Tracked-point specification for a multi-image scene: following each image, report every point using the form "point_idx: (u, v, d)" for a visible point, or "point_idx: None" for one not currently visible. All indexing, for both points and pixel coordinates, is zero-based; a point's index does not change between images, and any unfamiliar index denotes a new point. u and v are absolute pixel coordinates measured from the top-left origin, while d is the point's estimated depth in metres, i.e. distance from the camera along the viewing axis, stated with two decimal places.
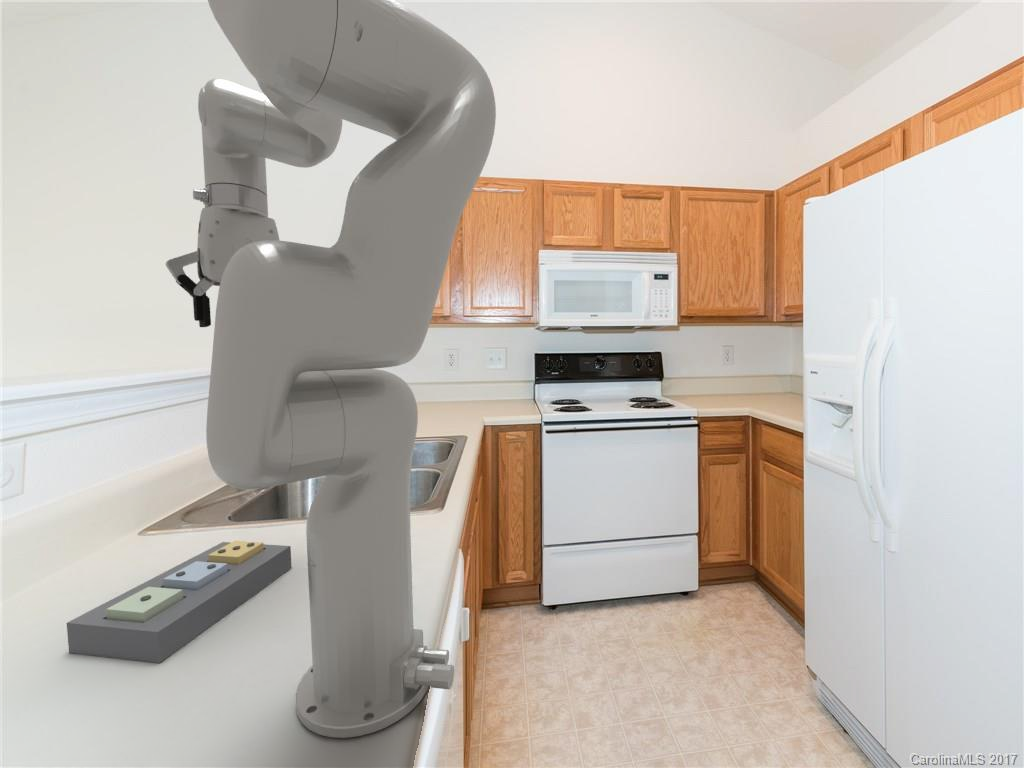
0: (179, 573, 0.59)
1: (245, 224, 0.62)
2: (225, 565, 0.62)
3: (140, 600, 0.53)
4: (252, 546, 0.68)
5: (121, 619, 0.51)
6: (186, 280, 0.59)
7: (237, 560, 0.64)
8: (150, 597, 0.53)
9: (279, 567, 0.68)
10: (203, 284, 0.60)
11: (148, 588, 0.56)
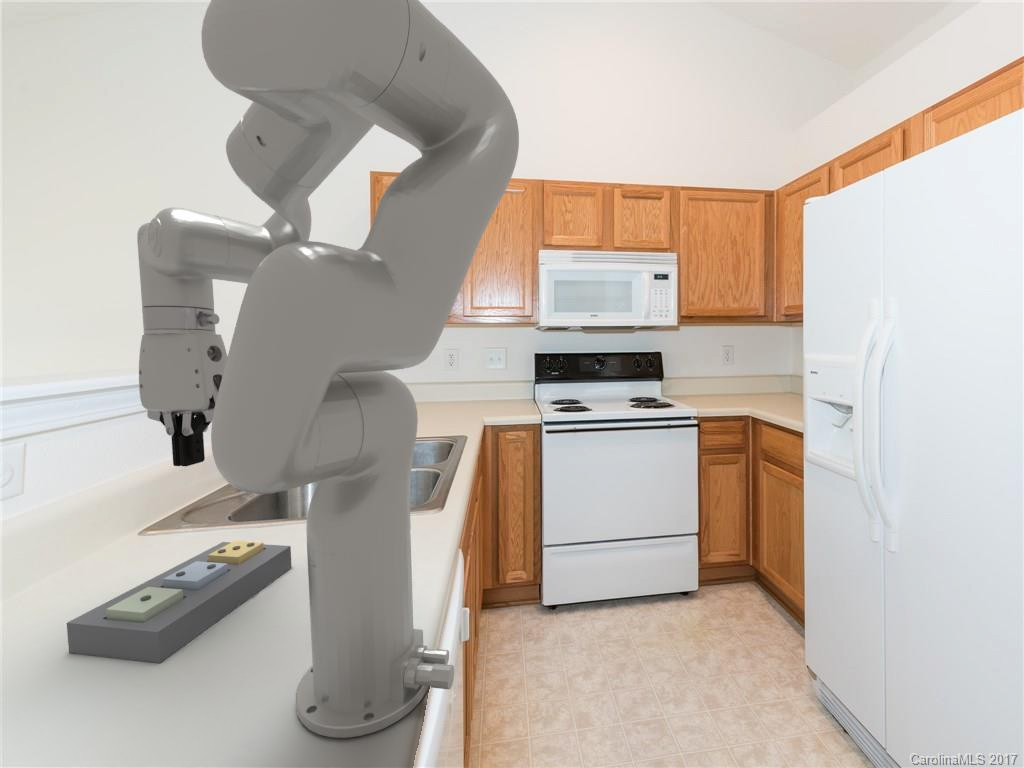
0: (179, 573, 0.59)
1: None
2: (225, 565, 0.62)
3: (140, 600, 0.53)
4: (252, 546, 0.68)
5: (121, 619, 0.51)
6: None
7: (237, 560, 0.64)
8: (150, 597, 0.53)
9: (279, 567, 0.68)
10: None
11: (148, 588, 0.56)
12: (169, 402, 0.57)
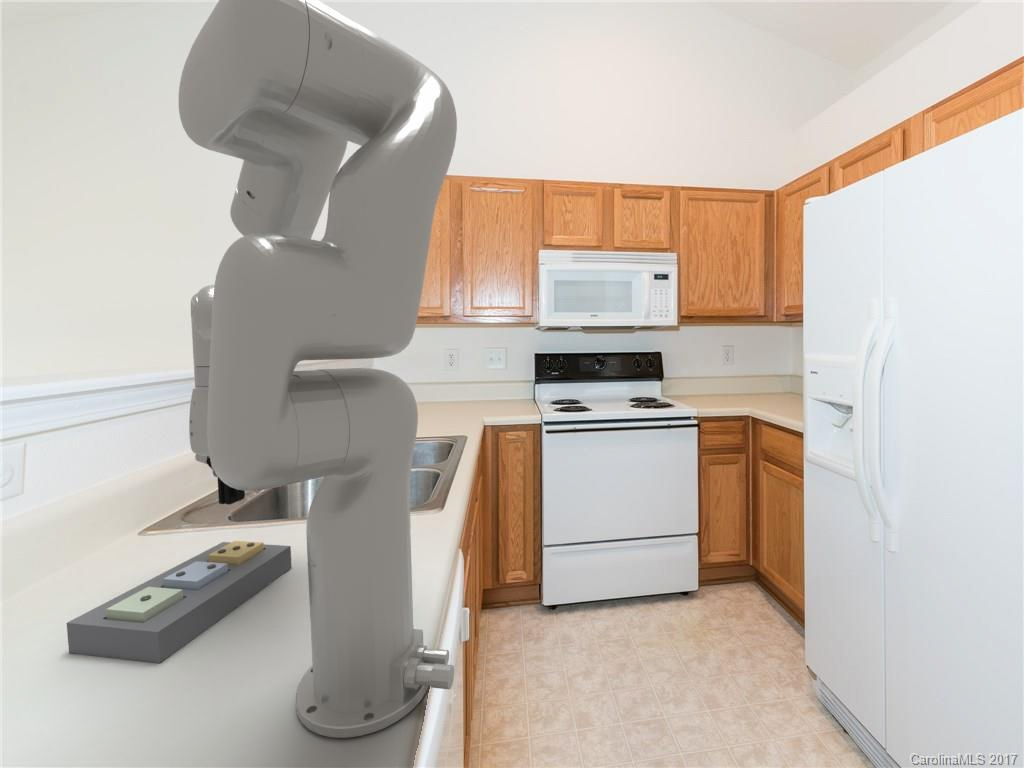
0: (179, 573, 0.59)
1: None
2: (225, 565, 0.62)
3: (140, 600, 0.53)
4: (252, 546, 0.68)
5: (121, 619, 0.51)
6: None
7: (237, 560, 0.64)
8: (150, 597, 0.53)
9: (279, 567, 0.68)
10: None
11: (148, 588, 0.56)
12: None
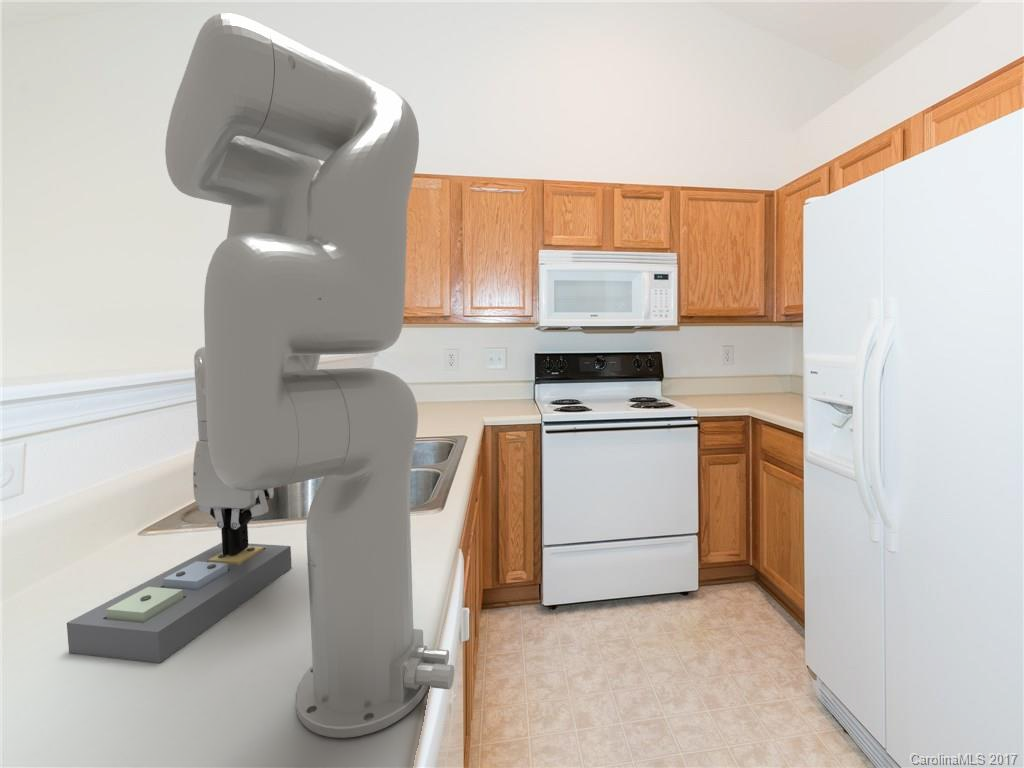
0: (179, 573, 0.59)
1: None
2: (225, 565, 0.62)
3: (140, 600, 0.53)
4: (252, 550, 0.68)
5: (121, 619, 0.51)
6: None
7: None
8: (150, 597, 0.53)
9: (279, 567, 0.68)
10: None
11: (148, 588, 0.56)
12: (220, 501, 0.65)
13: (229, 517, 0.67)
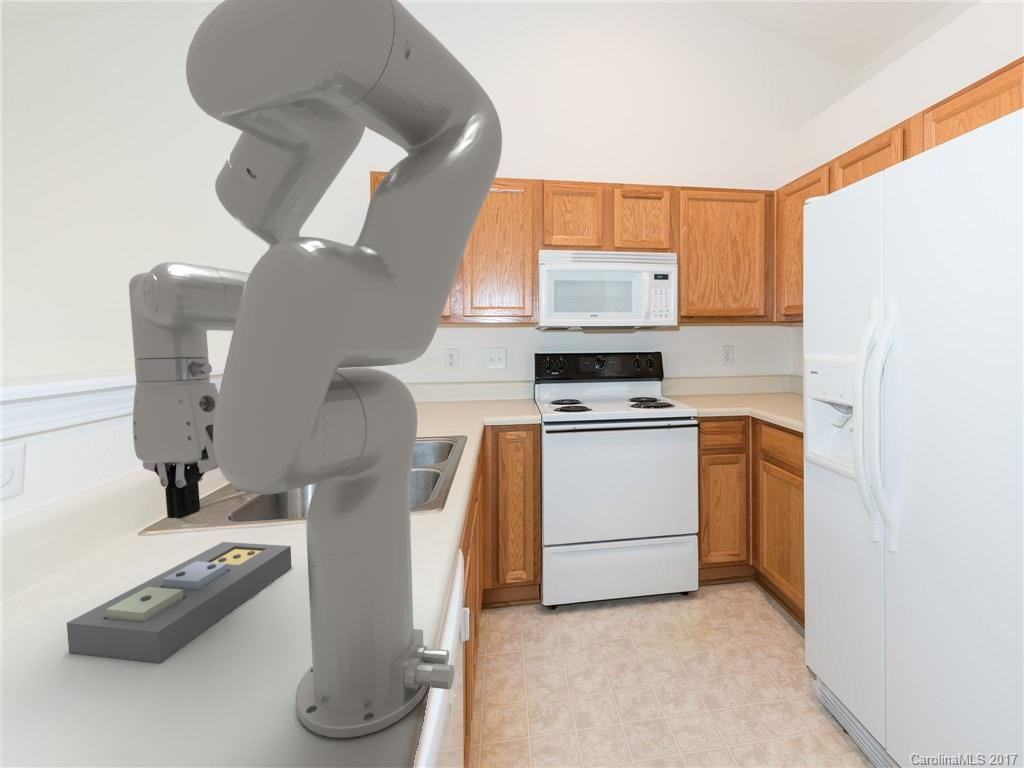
0: (179, 573, 0.59)
1: None
2: (225, 565, 0.62)
3: (140, 600, 0.53)
4: (252, 554, 0.68)
5: (121, 619, 0.51)
6: None
7: None
8: (150, 597, 0.53)
9: (279, 567, 0.68)
10: None
11: (148, 588, 0.56)
12: (162, 454, 0.56)
13: None
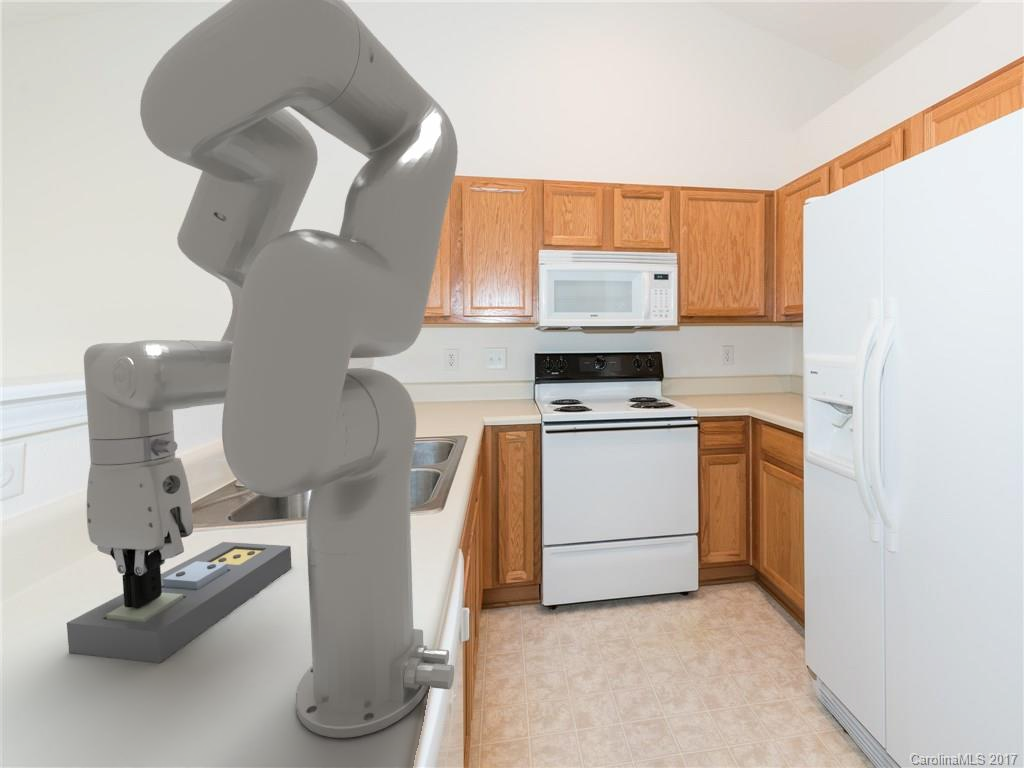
0: (179, 573, 0.59)
1: None
2: (225, 565, 0.62)
3: None
4: (252, 554, 0.68)
5: None
6: None
7: None
8: (150, 602, 0.53)
9: (279, 567, 0.68)
10: None
11: None
12: (119, 540, 0.51)
13: None
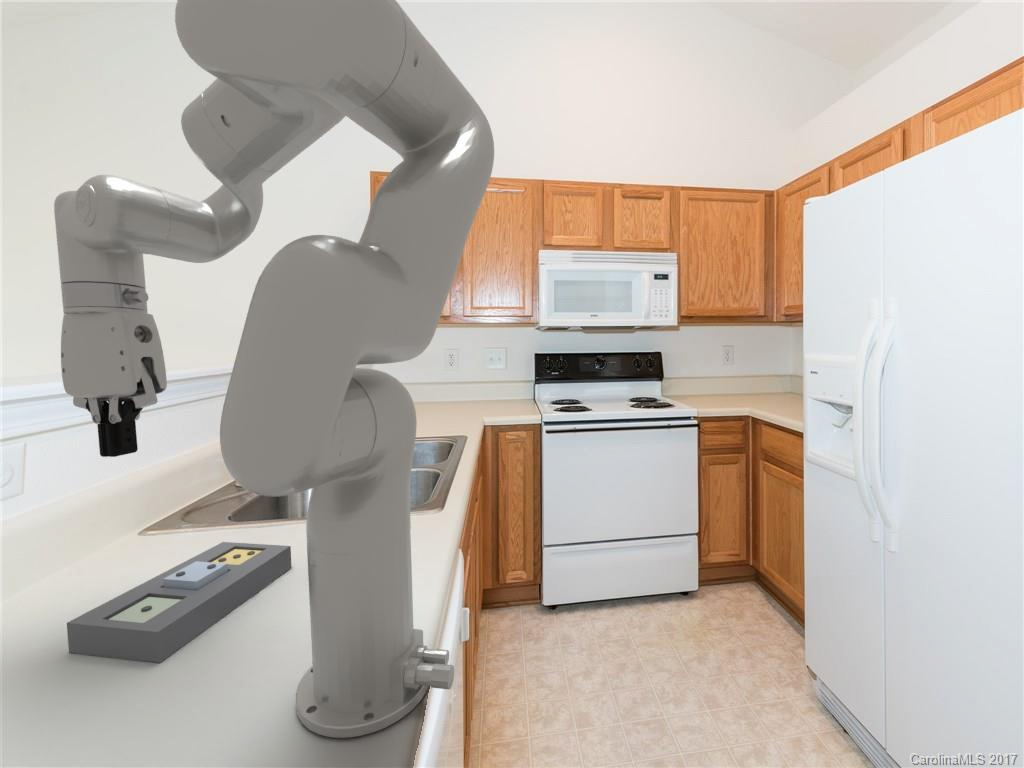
0: (179, 573, 0.59)
1: None
2: (225, 565, 0.62)
3: (141, 611, 0.53)
4: (252, 554, 0.68)
5: None
6: None
7: None
8: (151, 608, 0.54)
9: (279, 567, 0.68)
10: None
11: (149, 598, 0.56)
12: (93, 387, 0.52)
13: None
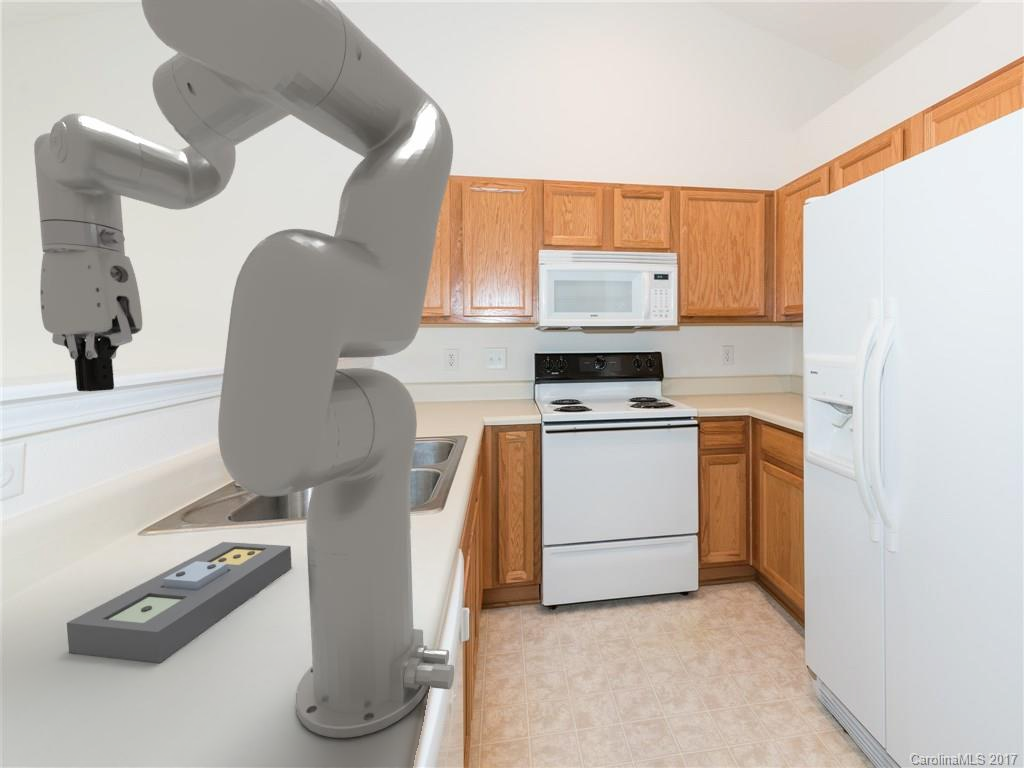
0: (179, 573, 0.59)
1: None
2: (225, 565, 0.62)
3: (141, 611, 0.53)
4: (252, 554, 0.68)
5: None
6: None
7: None
8: (151, 608, 0.54)
9: (279, 567, 0.68)
10: None
11: (149, 598, 0.56)
12: (70, 323, 0.55)
13: None
